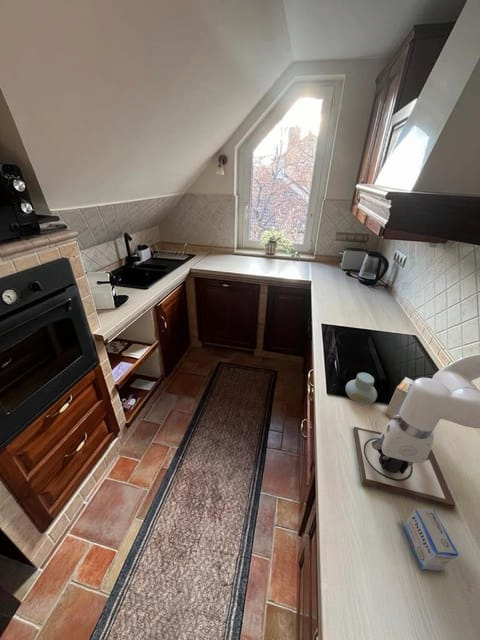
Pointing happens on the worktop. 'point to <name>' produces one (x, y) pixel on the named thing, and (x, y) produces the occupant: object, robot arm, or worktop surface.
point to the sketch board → (415, 481)
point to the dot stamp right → (394, 465)
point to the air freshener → (362, 389)
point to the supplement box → (399, 397)
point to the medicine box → (429, 540)
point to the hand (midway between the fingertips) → (391, 466)
